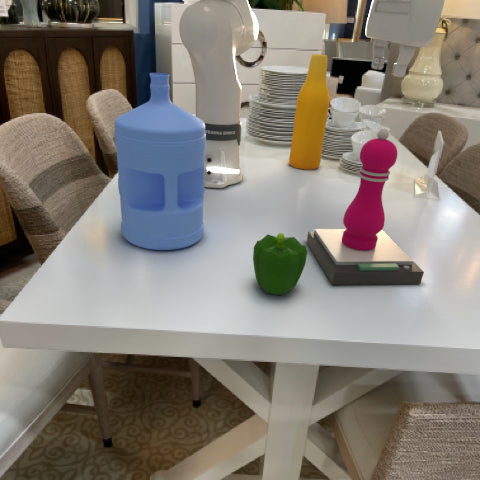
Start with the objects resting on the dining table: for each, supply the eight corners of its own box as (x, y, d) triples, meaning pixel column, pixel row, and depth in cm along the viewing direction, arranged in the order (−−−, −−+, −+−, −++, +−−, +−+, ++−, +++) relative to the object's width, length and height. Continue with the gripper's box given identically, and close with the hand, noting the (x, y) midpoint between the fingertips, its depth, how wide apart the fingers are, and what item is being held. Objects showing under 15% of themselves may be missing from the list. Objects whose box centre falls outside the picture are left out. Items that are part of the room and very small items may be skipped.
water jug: (115, 222, 95) (102, 66, 80) (190, 217, 100) (191, 69, 85) (130, 256, 83) (119, 79, 68) (214, 247, 89) (221, 82, 73)
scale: (332, 285, 79) (335, 268, 78) (306, 242, 93) (308, 227, 92) (420, 284, 82) (425, 267, 80) (382, 243, 96) (386, 228, 94)
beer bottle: (321, 171, 137) (339, 57, 121) (289, 168, 137) (303, 55, 121) (317, 162, 145) (334, 55, 129) (287, 160, 145) (300, 52, 129)
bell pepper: (267, 270, 82) (273, 215, 77) (308, 286, 79) (318, 229, 73) (239, 288, 76) (244, 230, 71) (283, 306, 73) (292, 246, 67)
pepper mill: (379, 254, 83) (409, 136, 72) (338, 248, 84) (361, 130, 73) (377, 238, 89) (405, 127, 78) (339, 233, 90) (361, 122, 79)
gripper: (367, -26, 82) (350, 63, 90) (418, -31, 66) (392, 79, 73) (401, -22, 83) (381, 66, 91) (460, -26, 66) (429, 82, 74)
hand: (386, 72), depth 82 cm, fingers open, 8 cm apart
